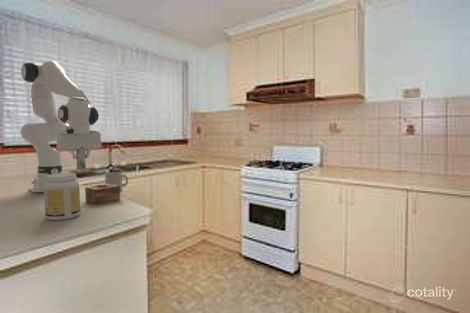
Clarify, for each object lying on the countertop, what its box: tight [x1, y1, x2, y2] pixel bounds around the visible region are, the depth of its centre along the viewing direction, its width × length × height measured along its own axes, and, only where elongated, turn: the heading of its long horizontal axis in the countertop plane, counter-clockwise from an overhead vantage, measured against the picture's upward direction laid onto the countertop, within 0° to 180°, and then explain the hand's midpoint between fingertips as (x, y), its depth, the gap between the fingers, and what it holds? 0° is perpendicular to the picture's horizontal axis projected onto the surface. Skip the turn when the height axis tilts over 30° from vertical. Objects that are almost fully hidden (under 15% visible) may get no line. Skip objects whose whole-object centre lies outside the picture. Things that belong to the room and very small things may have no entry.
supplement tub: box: [43, 172, 81, 221], centre depth 115 cm, size 12×12×17 cm
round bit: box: [75, 147, 87, 170], centre depth 143 cm, size 4×4×11 cm
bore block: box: [84, 183, 121, 205], centre depth 142 cm, size 10×12×7 cm
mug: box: [104, 171, 129, 193], centre depth 163 cm, size 12×8×11 cm
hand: (80, 158), depth 143 cm, fingers closed on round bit, 4 cm apart
